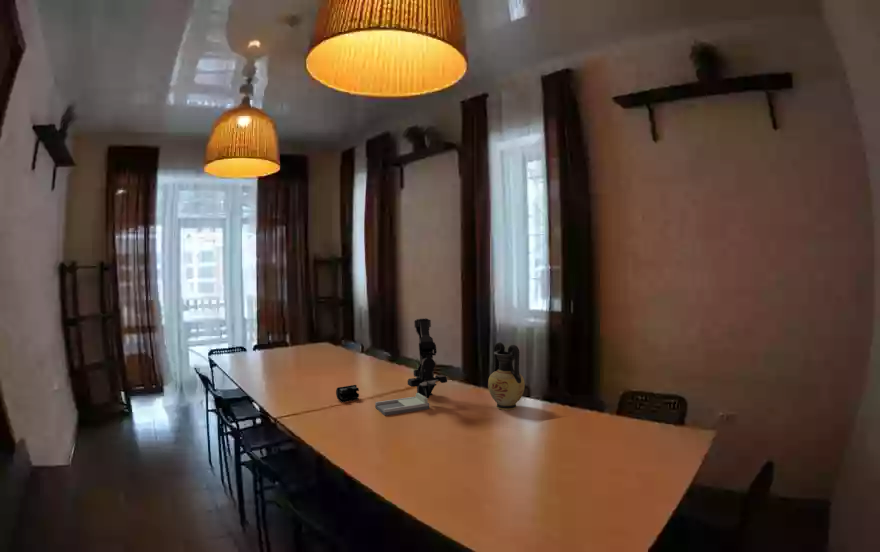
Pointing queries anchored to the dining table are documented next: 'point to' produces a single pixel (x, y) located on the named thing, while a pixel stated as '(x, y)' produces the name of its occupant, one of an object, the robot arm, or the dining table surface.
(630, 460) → the dining table surface
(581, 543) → the dining table surface
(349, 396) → the end cap
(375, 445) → the dining table surface
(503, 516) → the dining table surface
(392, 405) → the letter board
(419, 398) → the sage shutter
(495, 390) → the amphora
